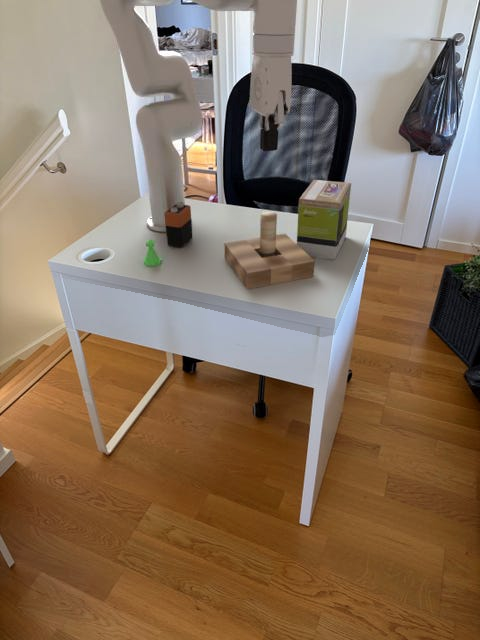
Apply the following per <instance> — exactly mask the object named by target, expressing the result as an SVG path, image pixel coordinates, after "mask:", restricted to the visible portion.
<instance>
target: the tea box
mask: <svg viewBox="0 0 480 640" xmlns="http://www.w3.org/2000/svg"><path fill="white" fill-rule="evenodd" d="M351 189H352V182H343V181H331V180H322V179H321V180H320V179H313V180H312V182H311V183H310V184H309V185H308V187H307V188H306V189H305V191H304V192H303V193H302V195H301V196H300V197H299V199H298V206H297V207H298V209H297V214H298V215H297V231H296V244H297V245H298V246H299V247H300V248H301V249H302V250H304V251H305V252H306V253H307V254H308V255H309V256H310V257H311V258H318V259H323V260H331V261H332V260H333V261H334V260H336V258H337V255H338V253H339V251H340V250H341V247H342V245H343V243H344V241H345V238H346V236H347V229H348V219H349V209H350V199H351V191H352V190H351Z"/></svg>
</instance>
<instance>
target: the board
mask: <svg viewBox="0 0 480 640" xmlns="http://www.w3.org/2000/svg"><path fill="white" fill-rule="evenodd" d="M223 248H224V250H223V251H224V259H225V261H226V262H227V263H228V265H229V266H230V267H231V269H232V270H233V272H234V273H235V274H236V276H237V277H238V279H239V280H240V282H241V283H242V284H243V285H244V286H245V288H246V289H247V290H250V289H257V288H261V287H265V286H272V285H277V284H282V283H288V282H294V281H298V280H304V279H309V278H313V277H314V275H315V265H316V264H315V263H316V261H315V259H313V257H310V256H309V255H308V254H307V253H306V252H305V251H304V250H302V249H301V248H300V247H299V246H298V245H297V242H295V241H294V240H293V239H292V238H291V237H290V236H288V234H286V233H281V234H276V253H275V256H271V257H265V258H261V256H260V252H259V249H260V237H254V238H249V239H243V240H242V239H241V240H236V241H235V240H234V241H229V242H224V243H223Z"/></svg>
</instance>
